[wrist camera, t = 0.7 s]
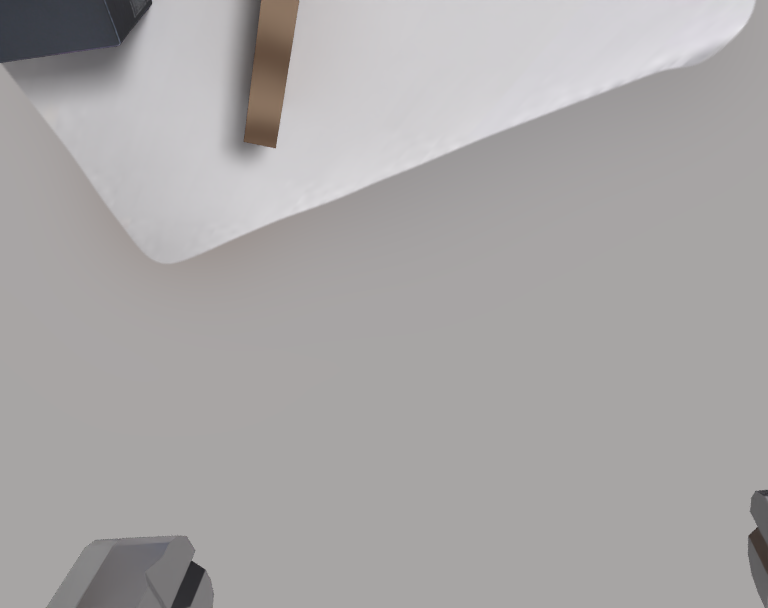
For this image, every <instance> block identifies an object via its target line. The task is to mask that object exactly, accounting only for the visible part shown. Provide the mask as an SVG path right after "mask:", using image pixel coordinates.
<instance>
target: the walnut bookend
mask: <svg viewBox="0 0 768 608" xmlns="http://www.w3.org/2000/svg"><path fill="white" fill-rule="evenodd" d="M298 5H299V0H261V7H260V15H259V23H258V31H257V39H256V47H255V55H254V63H253V71H252V79H251V87H250V95H249V104H248V112H247V120H246V128H245V136H244V142H247V143H252V144H257V145H262V146H267V147H272V148H276V143H277V137H278V131H279V124H280V118H281V112H282V105H283V99H284V93H285V87H286V80H287V74H288V68H289V62H290V55H291V49H292V43H293V36H294V30H295V24H296V18H297V11H298Z"/></svg>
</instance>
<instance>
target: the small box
mask: <svg viewBox="0 0 768 608" xmlns="http://www.w3.org/2000/svg"><path fill="white" fill-rule="evenodd" d="M151 4H152V0H0V63H3V62H10V61H17V60H23V59H30V58H37V57H44V56H51V55H58V54H65V53H72V52H79V51H86V50H93V49H101V48H108V47H115V46H120V45H121V43H122V42H123V40H124V39H125V38H126V36H127V35H128V34H129V32H130V31H131V30H132V28H133V27H134V26H135V25H136V23H137V22H138V21H139V19H140V18H141V17H142V16H143V14H144V13H145V12H146V11H147V10H148V8H149V7H150V6H151Z"/></svg>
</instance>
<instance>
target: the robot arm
mask: <svg viewBox="0 0 768 608" xmlns="http://www.w3.org/2000/svg"><path fill="white" fill-rule="evenodd" d="M750 512H751V514H752V516H753V518H754V520H755V522H756V524H757V526H758V527H757V528H756V529H755V530H754V531H753V532H752V533H751V534H750V535H749V536H748V557H749V562H750V568H751V573H752V576H753V579H754V582H755V585H756V588H757V591H758V594H759V596H760V598H761V600H762V602H763V604H764V607H765V608H768V490H760V491H755V493H754V494H753V496H752V498H751V508H750ZM194 553H195V549H194V547H193V546H192V544H191V543H190V541H189V539H188V537H187V536H157V537H137V538H122V539H105V540H104V539H103V540H95V541H93V542H92V543H91V544H89V545H88V546H86V547H85V548H84V550H83V551H82V553H81V554H80V556H79V557H78V559H77V561H76V562H75V564H74V565H73V567H72V568H71V570H70V571H69V573H68V574H67V576H66V578H65V579H64V581H63V582H62V584H61V585H60V587H59V588H58V590H57V592H56V593H55V595H54V596H53V598H52V599H51V601H50V602H49V604H48V606H47V607H46V608H213V597H214V593H213V588H212V583H211V579H210V577H209V576H208V574H207V571H206V570H205V569H204V568H202V567H201V566H199V565H197V564H196V563H195V562H193V561H192V558H193V555H194Z"/></svg>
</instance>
